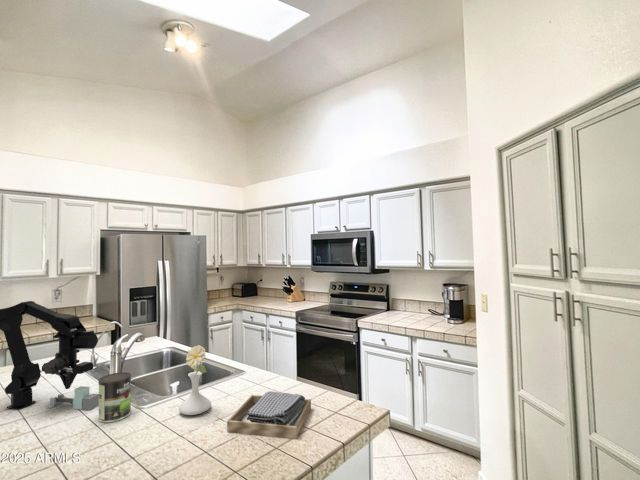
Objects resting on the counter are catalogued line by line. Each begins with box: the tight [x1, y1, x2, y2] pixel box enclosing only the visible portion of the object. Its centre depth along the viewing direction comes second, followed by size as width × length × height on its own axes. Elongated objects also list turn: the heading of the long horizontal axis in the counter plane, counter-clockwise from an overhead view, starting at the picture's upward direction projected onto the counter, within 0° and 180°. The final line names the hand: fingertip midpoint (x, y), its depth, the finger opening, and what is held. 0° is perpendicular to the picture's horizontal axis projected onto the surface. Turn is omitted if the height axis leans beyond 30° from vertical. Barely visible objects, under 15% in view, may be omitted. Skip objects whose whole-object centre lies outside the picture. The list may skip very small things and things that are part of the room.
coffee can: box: [97, 371, 132, 424], centre depth 124 cm, size 10×10×14 cm
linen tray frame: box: [226, 394, 312, 440], centre depth 119 cm, size 24×21×4 cm
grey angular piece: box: [45, 393, 99, 411], centre depth 132 cm, size 18×7×4 cm, turn 78°
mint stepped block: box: [72, 386, 91, 411], centre depth 132 cm, size 4×4×7 cm
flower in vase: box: [178, 344, 212, 416], centre depth 127 cm, size 13×11×25 cm
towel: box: [246, 390, 306, 426], centre depth 119 cm, size 15×18×8 cm
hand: (67, 388), depth 133 cm, fingers closed
